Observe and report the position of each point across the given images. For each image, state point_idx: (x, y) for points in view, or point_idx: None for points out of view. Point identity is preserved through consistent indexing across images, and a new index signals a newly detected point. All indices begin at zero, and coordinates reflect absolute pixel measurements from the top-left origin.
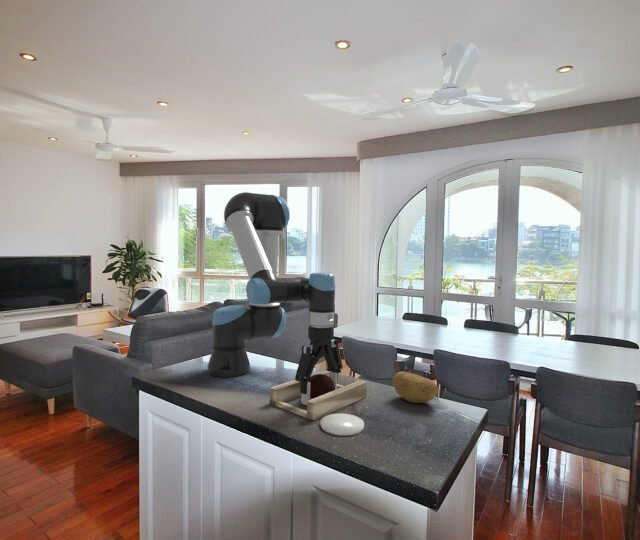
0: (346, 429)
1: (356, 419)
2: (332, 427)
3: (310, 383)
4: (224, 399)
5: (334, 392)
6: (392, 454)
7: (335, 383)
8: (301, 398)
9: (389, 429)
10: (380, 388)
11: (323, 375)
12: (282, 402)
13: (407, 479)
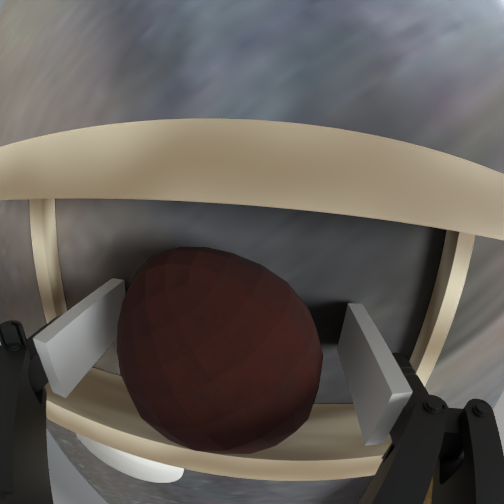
0: (109, 460)
1: (167, 472)
2: (87, 438)
3: (118, 353)
4: (17, 26)
5: (181, 457)
6: (132, 498)
7: (351, 392)
8: (99, 288)
9: (202, 501)
10: (483, 397)
11: (210, 447)
12: (38, 226)
13: (107, 500)
